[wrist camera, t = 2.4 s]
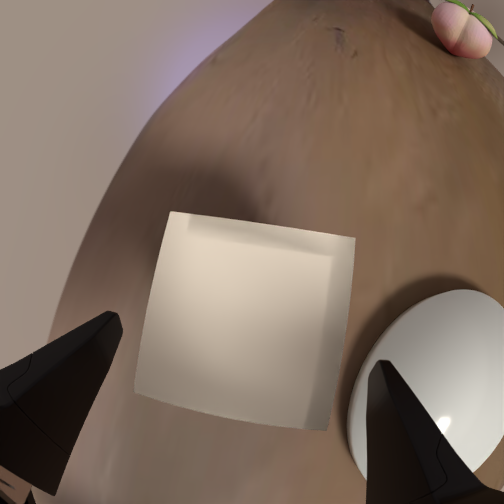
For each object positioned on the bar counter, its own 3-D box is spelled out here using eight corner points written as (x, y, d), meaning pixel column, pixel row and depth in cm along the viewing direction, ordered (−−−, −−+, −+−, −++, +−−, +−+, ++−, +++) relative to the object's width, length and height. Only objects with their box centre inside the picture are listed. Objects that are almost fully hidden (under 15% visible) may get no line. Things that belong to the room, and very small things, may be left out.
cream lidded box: (294, 378, 17) (326, 430, 7) (202, 362, 17) (133, 392, 7) (309, 288, 18) (355, 238, 8) (219, 273, 19) (170, 211, 9)
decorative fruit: (479, 63, 25) (502, 20, 15) (474, 81, 24) (503, 31, 14) (429, 29, 27) (446, -17, 17) (416, 41, 26) (436, -13, 16)
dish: (399, 520, 12) (406, 528, 11) (300, 390, 16) (303, 396, 15) (526, 391, 14) (536, 392, 12) (462, 251, 18) (473, 246, 17)
